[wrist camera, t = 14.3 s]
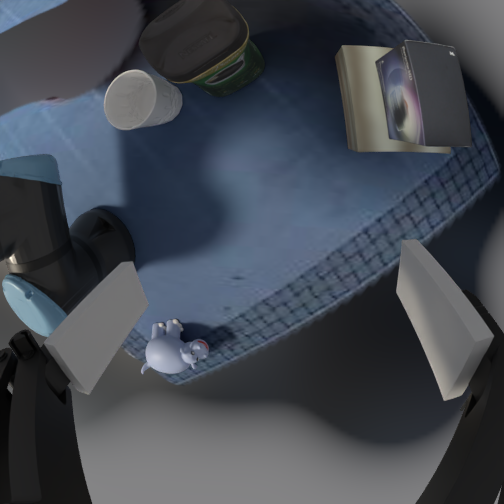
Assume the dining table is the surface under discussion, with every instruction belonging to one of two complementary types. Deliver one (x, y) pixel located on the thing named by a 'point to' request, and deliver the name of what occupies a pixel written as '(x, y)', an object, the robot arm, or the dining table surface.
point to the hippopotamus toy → (172, 349)
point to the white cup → (141, 101)
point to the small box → (424, 95)
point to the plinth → (368, 103)
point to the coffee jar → (203, 46)
